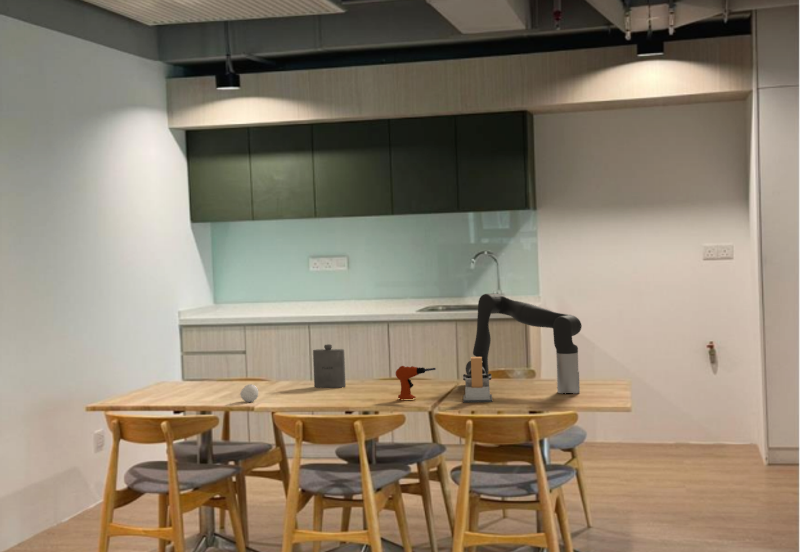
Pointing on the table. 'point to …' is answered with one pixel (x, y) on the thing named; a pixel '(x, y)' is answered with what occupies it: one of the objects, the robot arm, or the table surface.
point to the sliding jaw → (469, 382)
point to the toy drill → (406, 383)
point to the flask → (329, 367)
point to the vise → (477, 394)
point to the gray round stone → (249, 393)
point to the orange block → (476, 371)
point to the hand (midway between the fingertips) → (477, 379)
